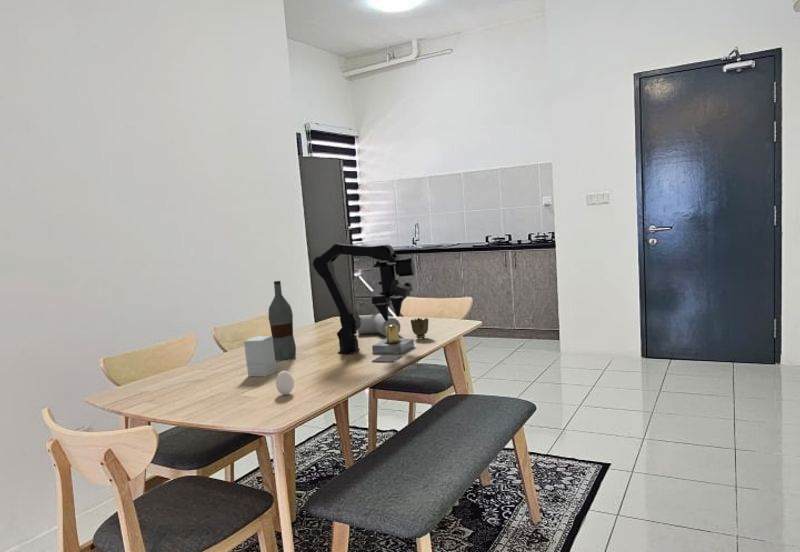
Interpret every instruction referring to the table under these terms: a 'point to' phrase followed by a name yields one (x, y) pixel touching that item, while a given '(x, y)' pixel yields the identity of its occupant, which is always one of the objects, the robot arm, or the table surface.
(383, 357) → the mat
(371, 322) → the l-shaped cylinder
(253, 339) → the supplement box
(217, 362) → the table surface
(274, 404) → the table surface
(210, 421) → the table surface
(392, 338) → the brass cylinder
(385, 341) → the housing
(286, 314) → the bottle
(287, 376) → the egg
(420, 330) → the cup
